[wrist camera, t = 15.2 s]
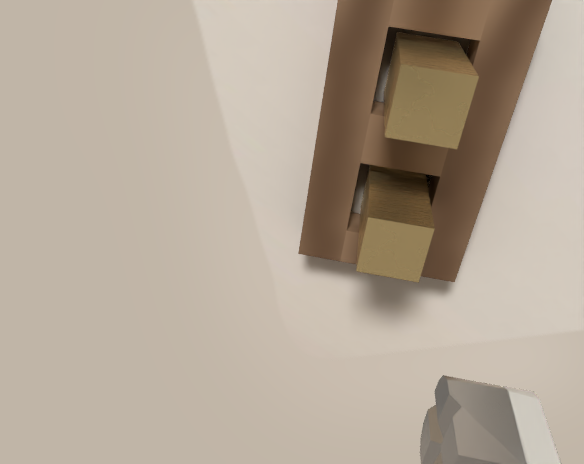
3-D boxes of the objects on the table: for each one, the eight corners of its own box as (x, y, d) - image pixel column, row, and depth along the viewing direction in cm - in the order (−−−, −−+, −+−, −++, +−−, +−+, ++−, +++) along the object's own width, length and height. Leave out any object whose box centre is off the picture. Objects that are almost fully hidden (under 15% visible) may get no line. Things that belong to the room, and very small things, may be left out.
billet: (424, 168, 40) (434, 228, 32) (411, 215, 42) (418, 282, 35) (370, 159, 40) (368, 217, 33) (360, 206, 42) (356, 271, 35)
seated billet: (457, 41, 35) (478, 76, 28) (441, 101, 38) (457, 149, 30) (396, 31, 36) (401, 64, 28) (384, 91, 38) (384, 137, 30)
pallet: (539, -7, 33) (552, -1, 31) (450, 260, 44) (454, 282, 41) (345, -37, 34) (343, -32, 32) (303, 233, 44) (298, 253, 42)
